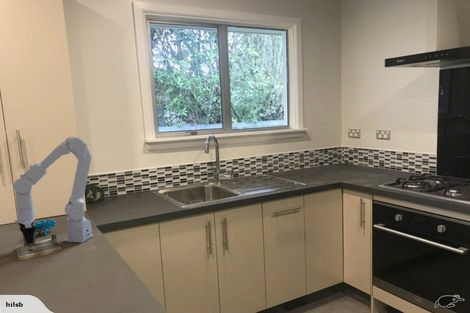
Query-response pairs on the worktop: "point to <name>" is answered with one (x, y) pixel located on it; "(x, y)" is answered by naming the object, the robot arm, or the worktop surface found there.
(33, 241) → the grey rectangular block
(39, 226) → the blue bumpy figurine
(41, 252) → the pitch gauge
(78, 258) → the worktop surface
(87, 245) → the worktop surface
